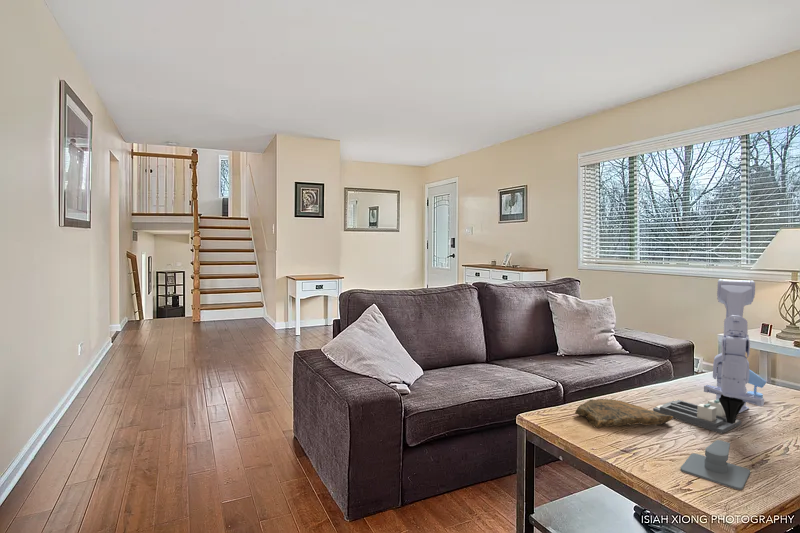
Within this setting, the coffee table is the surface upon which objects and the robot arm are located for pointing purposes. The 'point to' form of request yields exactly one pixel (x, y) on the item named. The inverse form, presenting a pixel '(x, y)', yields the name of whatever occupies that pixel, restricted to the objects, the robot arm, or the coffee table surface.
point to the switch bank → (694, 416)
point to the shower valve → (716, 466)
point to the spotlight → (756, 383)
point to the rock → (619, 413)
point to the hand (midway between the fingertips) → (731, 422)
